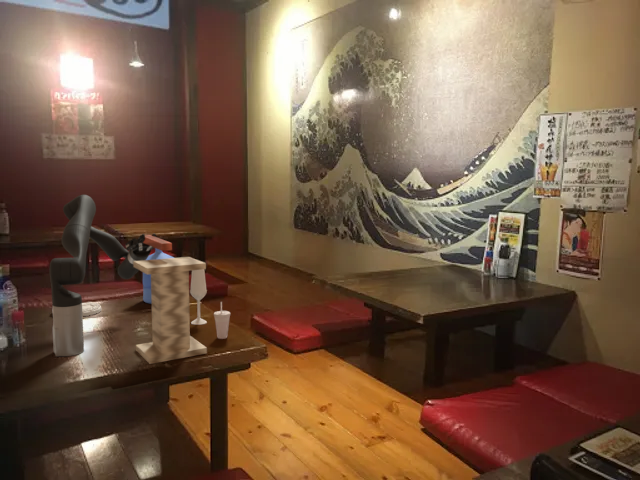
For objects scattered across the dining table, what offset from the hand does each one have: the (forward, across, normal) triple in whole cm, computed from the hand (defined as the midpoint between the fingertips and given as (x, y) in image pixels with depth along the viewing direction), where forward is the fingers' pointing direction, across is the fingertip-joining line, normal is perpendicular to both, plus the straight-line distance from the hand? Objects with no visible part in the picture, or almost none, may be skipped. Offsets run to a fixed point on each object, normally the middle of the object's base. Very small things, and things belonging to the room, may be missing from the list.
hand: (149, 236), depth 201 cm
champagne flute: (-26, +22, +30) cm, 45 cm away
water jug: (-66, +20, +7) cm, 69 cm away
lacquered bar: (+5, 0, +6) cm, 8 cm away
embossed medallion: (-63, -18, +9) cm, 66 cm away
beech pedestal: (0, 0, +45) cm, 45 cm away
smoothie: (-5, +22, +42) cm, 48 cm away
